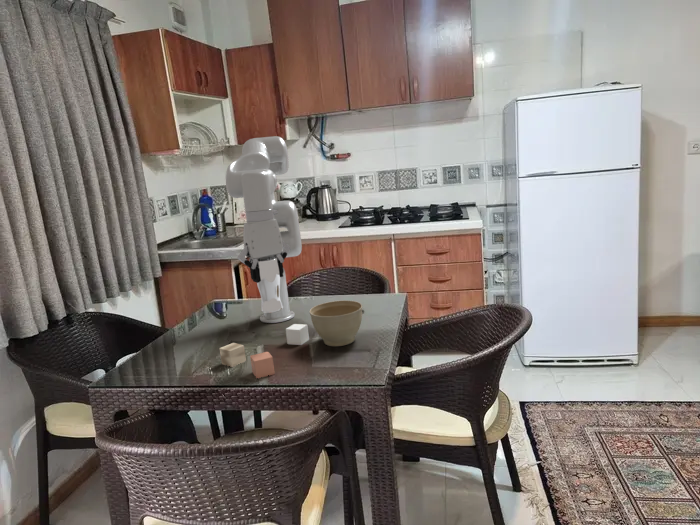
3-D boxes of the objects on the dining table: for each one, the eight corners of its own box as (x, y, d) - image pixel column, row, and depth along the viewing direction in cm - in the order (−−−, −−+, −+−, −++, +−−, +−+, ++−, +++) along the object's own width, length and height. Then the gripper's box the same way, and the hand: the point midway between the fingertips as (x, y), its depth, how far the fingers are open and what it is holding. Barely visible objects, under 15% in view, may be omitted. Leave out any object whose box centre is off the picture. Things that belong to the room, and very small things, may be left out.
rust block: (252, 372, 145) (250, 355, 144) (270, 368, 147) (267, 351, 146) (256, 378, 141) (254, 361, 140) (274, 374, 142) (272, 356, 141)
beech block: (221, 364, 153) (219, 348, 152) (235, 358, 157) (233, 342, 156) (232, 367, 150) (229, 351, 149) (246, 361, 154) (243, 345, 153)
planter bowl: (315, 334, 171) (312, 302, 169) (365, 330, 170) (362, 298, 168) (310, 353, 155) (306, 317, 153) (365, 348, 154) (361, 313, 152)
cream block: (287, 344, 165) (285, 329, 164) (295, 338, 170) (294, 323, 169) (301, 345, 163) (299, 329, 162) (309, 339, 167) (307, 324, 166)
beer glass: (273, 314, 146) (266, 261, 143) (254, 312, 150) (247, 261, 147) (289, 306, 152) (282, 256, 149) (270, 304, 156) (264, 255, 152)
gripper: (281, 211, 153) (288, 270, 157) (225, 220, 143) (234, 283, 147) (294, 212, 147) (301, 274, 151) (235, 222, 137) (245, 288, 141)
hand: (268, 278), depth 149 cm, fingers closed on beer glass, 6 cm apart
